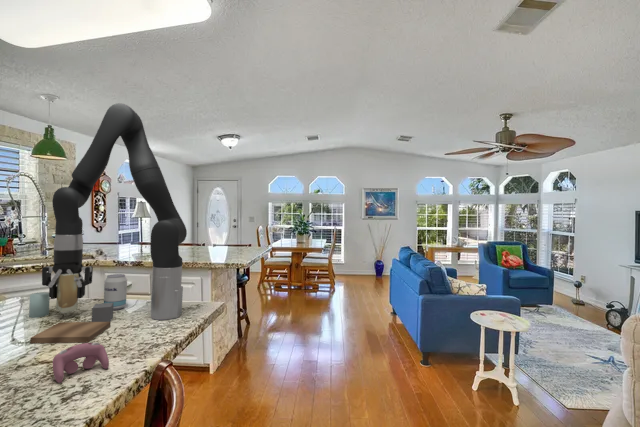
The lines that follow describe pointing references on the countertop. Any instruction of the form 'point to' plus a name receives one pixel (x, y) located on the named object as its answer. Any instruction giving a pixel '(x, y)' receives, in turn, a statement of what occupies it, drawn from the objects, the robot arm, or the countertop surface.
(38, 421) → the countertop surface
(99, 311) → the rubber block
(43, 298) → the grey-green rounded block
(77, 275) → the skincare box
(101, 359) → the video game controller
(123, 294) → the beverage can
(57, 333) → the wooden board
